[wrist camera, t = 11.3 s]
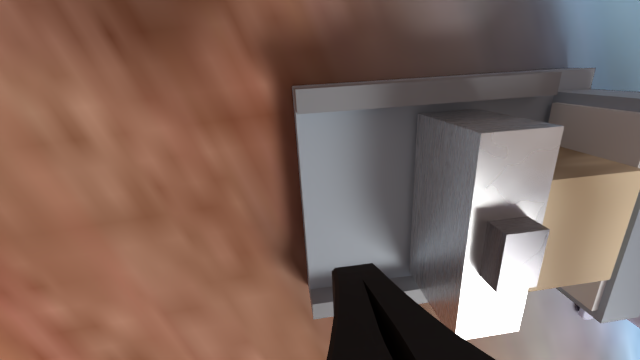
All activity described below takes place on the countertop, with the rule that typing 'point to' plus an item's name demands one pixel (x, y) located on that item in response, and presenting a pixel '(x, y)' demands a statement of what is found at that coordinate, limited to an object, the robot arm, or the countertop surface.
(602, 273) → the block
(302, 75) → the countertop surface
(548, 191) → the sliding jaw
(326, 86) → the base
